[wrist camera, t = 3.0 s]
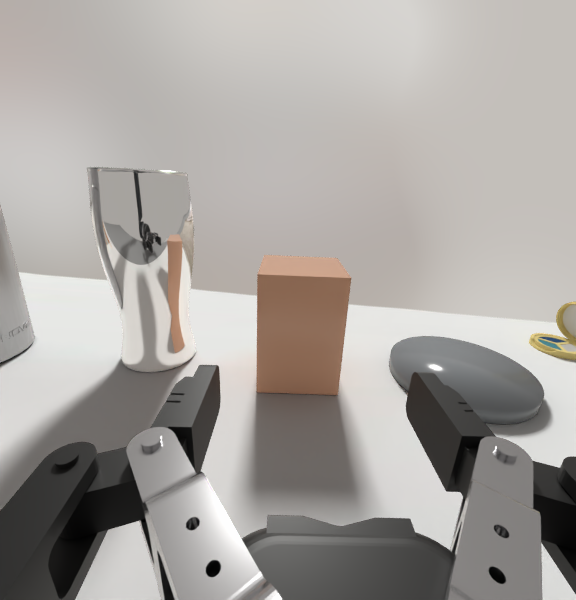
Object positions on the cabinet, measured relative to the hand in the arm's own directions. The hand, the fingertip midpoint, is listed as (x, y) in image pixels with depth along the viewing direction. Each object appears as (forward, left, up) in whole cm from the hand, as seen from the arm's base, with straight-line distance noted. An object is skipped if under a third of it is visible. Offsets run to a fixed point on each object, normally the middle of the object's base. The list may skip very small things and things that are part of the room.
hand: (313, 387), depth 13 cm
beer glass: (-12, +13, -7) cm, 19 cm away
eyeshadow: (+27, +17, -7) cm, 33 cm away
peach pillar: (0, +11, -7) cm, 13 cm away
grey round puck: (+13, +11, -7) cm, 19 cm away
